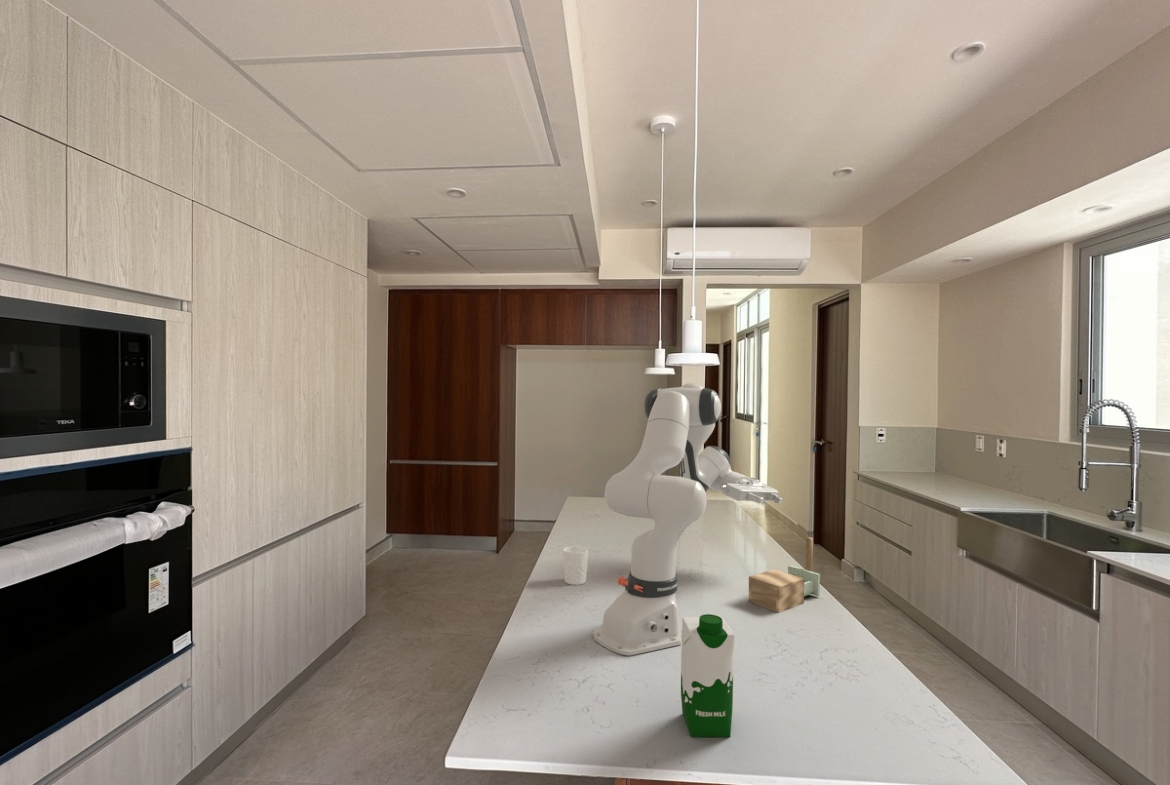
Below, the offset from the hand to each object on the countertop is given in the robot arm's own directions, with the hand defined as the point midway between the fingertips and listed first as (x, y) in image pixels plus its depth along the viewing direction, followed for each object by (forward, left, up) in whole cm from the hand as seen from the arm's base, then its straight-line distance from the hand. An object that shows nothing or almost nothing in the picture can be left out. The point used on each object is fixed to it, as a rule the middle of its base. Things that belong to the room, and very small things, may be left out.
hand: (771, 501), depth 176 cm
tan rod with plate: (-4, -12, -25) cm, 28 cm away
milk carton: (-76, -40, -26) cm, 89 cm away
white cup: (-52, +34, -26) cm, 67 cm away
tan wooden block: (-14, -12, -26) cm, 31 cm away
